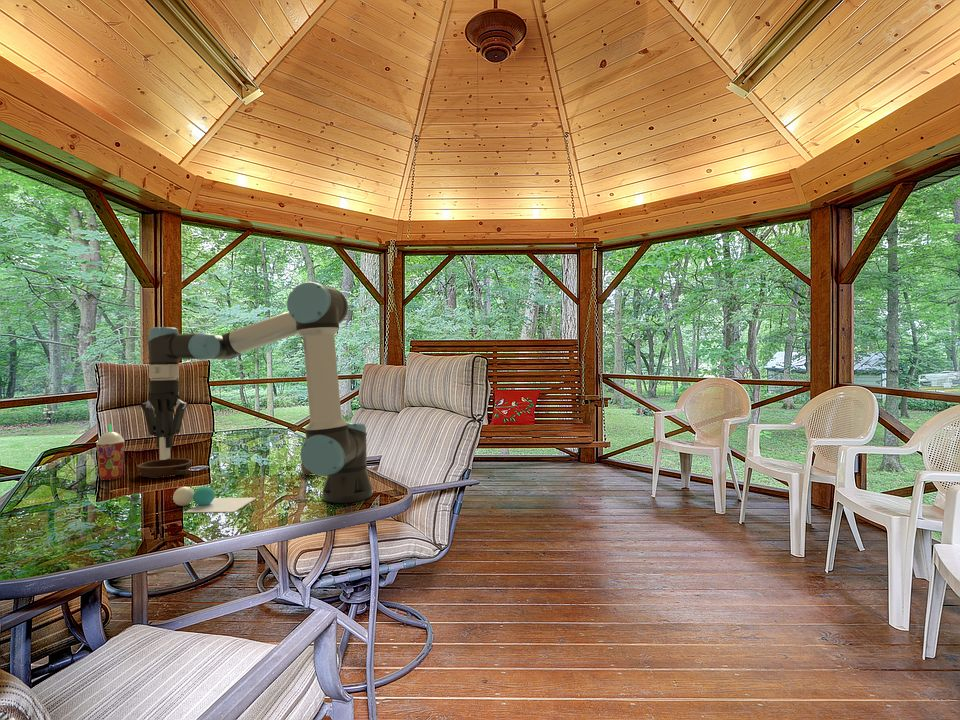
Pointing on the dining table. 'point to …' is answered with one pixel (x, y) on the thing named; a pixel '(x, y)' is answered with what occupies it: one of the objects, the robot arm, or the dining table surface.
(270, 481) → the dining table surface
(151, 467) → the dish
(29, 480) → the dining table surface
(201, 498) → the object ball
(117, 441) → the smoothie
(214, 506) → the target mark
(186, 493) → the cue ball
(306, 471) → the vase
